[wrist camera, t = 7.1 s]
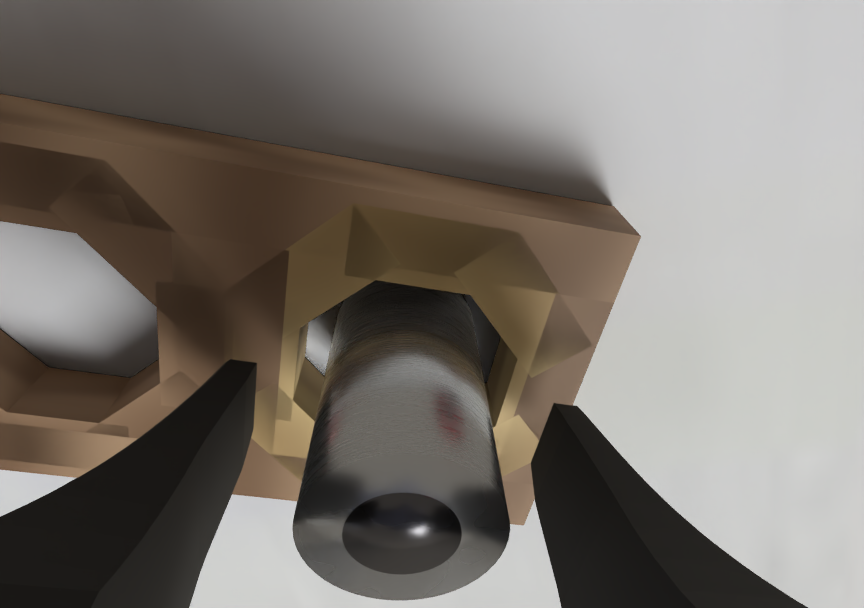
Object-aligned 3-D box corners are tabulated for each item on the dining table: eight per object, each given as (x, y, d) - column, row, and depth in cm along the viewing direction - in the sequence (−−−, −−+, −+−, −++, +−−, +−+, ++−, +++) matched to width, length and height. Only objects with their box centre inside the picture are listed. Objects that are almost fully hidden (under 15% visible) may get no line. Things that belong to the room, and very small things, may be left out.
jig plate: (-66, 409, 17) (-119, 456, 16) (-169, 63, 13) (-263, 76, 11) (513, 477, 20) (523, 525, 18) (613, 206, 15) (641, 236, 13)
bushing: (334, 381, 17) (293, 598, 11) (338, 263, 15) (291, 450, 9) (463, 390, 18) (491, 606, 12) (483, 276, 16) (529, 464, 10)
